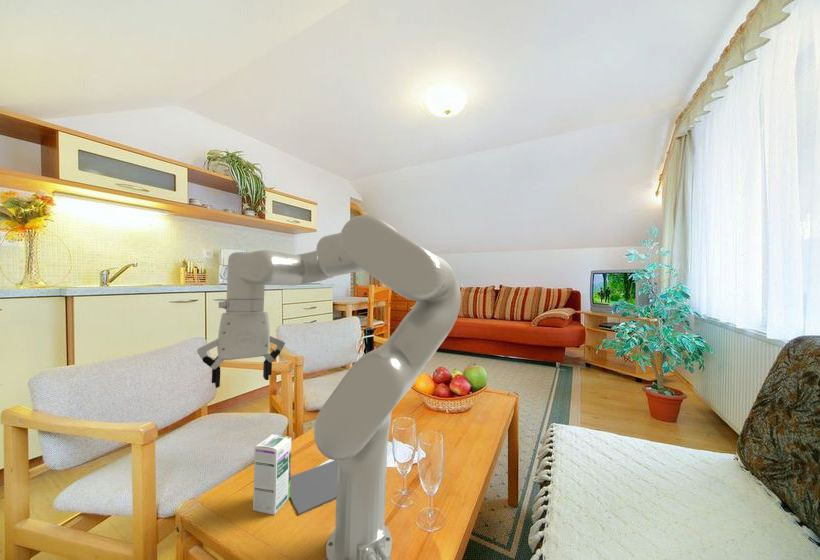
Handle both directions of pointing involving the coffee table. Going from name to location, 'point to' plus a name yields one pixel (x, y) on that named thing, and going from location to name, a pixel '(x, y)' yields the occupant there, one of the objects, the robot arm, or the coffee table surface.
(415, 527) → the coffee table surface
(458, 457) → the coffee table surface
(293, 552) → the coffee table surface
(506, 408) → the coffee table surface
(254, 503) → the syrup box
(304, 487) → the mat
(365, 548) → the robot arm
